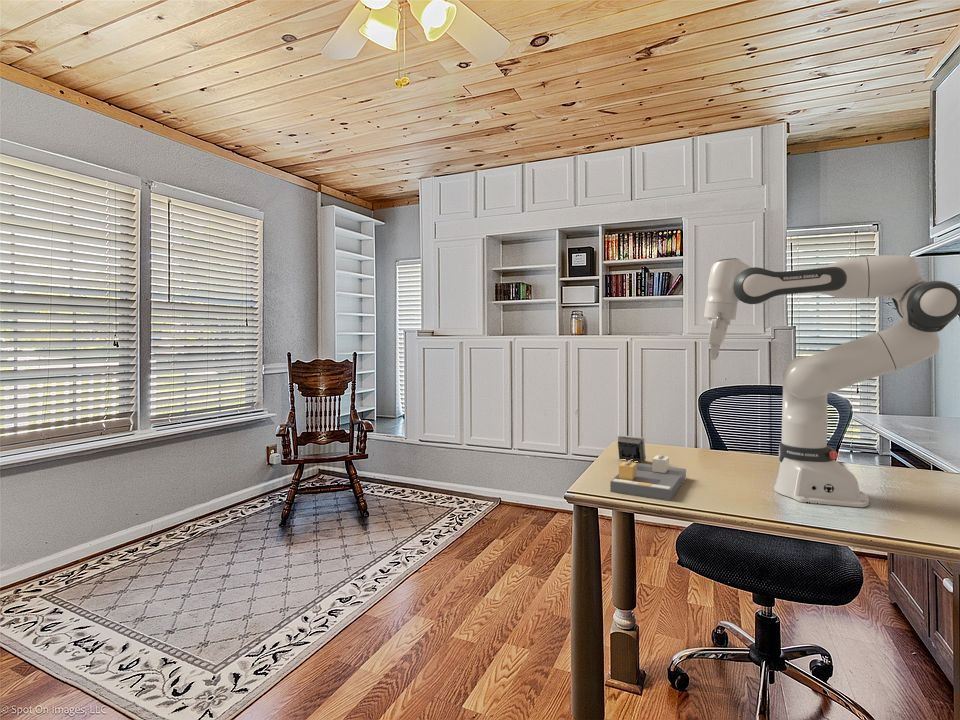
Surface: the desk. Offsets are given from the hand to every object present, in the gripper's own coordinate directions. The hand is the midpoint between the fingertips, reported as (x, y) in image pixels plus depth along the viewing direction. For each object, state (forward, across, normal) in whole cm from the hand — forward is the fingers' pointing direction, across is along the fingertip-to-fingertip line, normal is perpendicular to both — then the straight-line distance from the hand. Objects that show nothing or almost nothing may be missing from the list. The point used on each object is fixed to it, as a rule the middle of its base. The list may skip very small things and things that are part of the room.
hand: (714, 358), depth 160 cm
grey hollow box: (+41, +14, +23) cm, 49 cm away
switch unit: (+40, -11, +13) cm, 43 cm away
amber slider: (+37, -17, +19) cm, 45 cm away
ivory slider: (+36, -6, +11) cm, 38 cm away
